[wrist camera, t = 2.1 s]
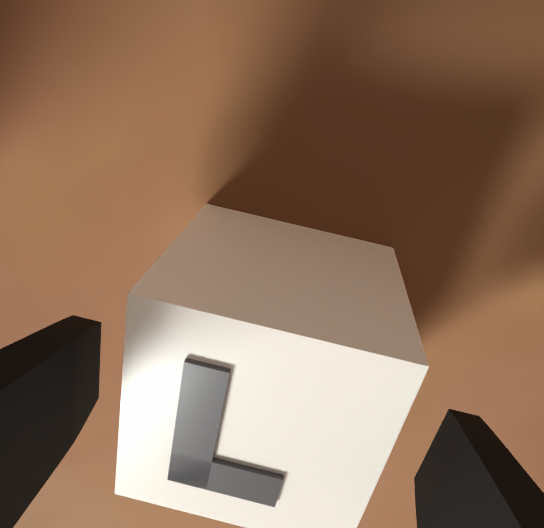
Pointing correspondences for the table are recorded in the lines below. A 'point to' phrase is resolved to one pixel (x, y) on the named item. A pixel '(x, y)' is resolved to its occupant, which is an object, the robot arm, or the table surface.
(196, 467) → the letter cube
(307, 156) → the table surface
